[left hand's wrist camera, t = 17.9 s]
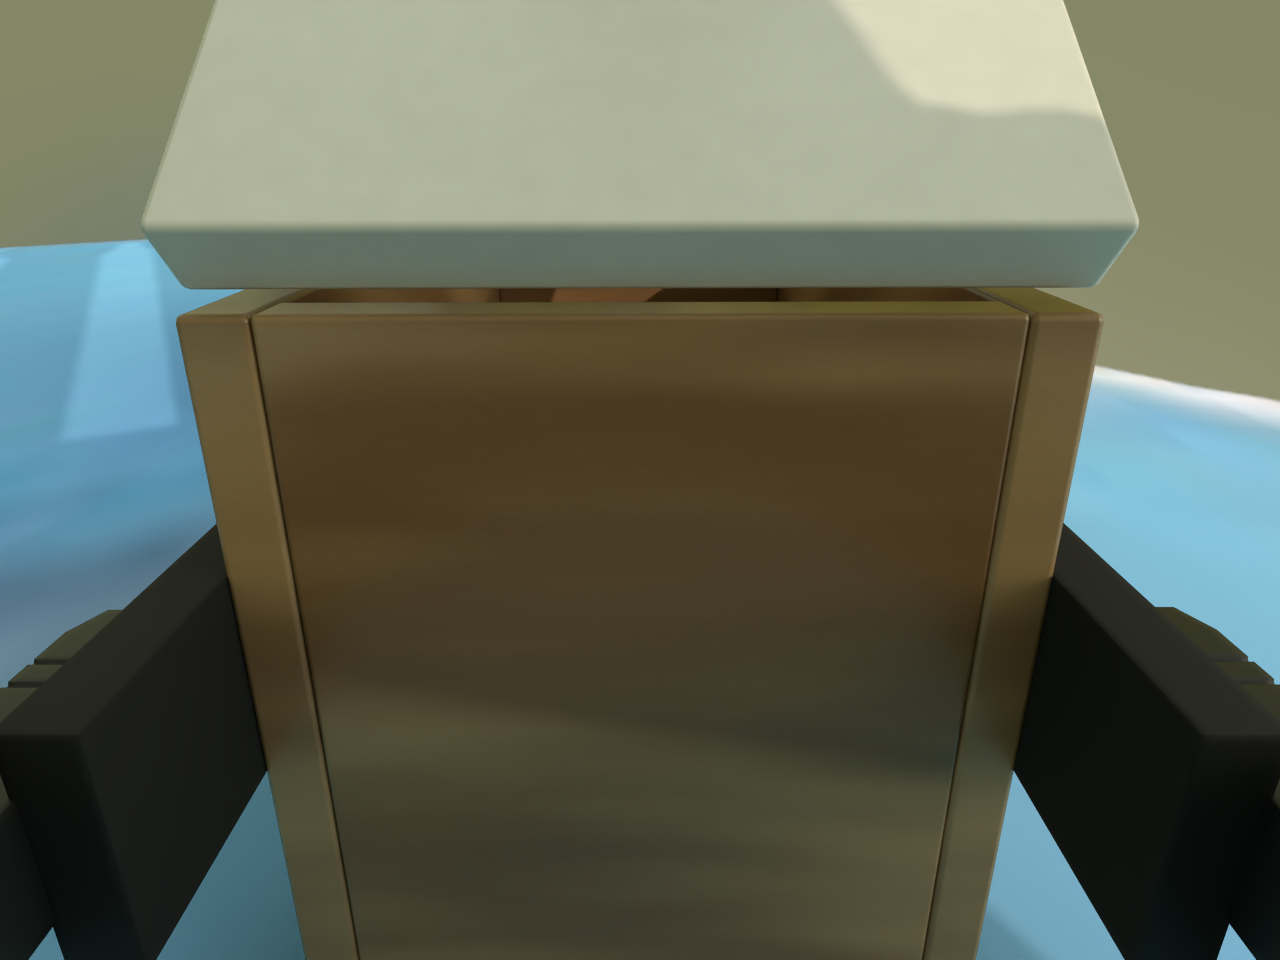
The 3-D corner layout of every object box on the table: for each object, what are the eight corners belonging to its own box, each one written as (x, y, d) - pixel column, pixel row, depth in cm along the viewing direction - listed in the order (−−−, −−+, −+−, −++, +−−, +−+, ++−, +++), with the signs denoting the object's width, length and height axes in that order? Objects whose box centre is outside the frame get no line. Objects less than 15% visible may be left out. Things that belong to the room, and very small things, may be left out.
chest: (494, 542, 27) (469, 199, 24) (783, 542, 27) (806, 199, 24) (319, 1045, 12) (169, 315, 8) (963, 1042, 12) (1111, 313, 8)
